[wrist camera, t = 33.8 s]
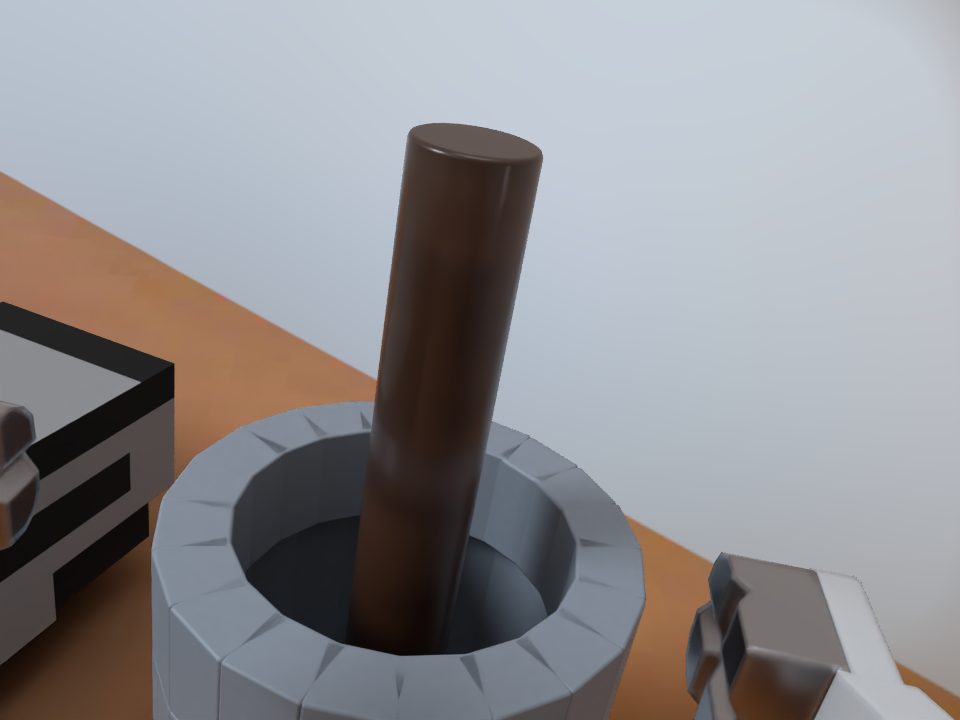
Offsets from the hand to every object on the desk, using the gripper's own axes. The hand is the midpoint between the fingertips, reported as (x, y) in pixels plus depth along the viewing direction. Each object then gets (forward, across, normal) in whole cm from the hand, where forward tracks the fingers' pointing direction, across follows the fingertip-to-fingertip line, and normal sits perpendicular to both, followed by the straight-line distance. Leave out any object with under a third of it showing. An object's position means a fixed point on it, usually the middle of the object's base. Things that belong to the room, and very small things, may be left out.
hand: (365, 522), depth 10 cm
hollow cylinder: (+6, 0, +16) cm, 17 cm away
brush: (+6, 0, +15) cm, 16 cm away
